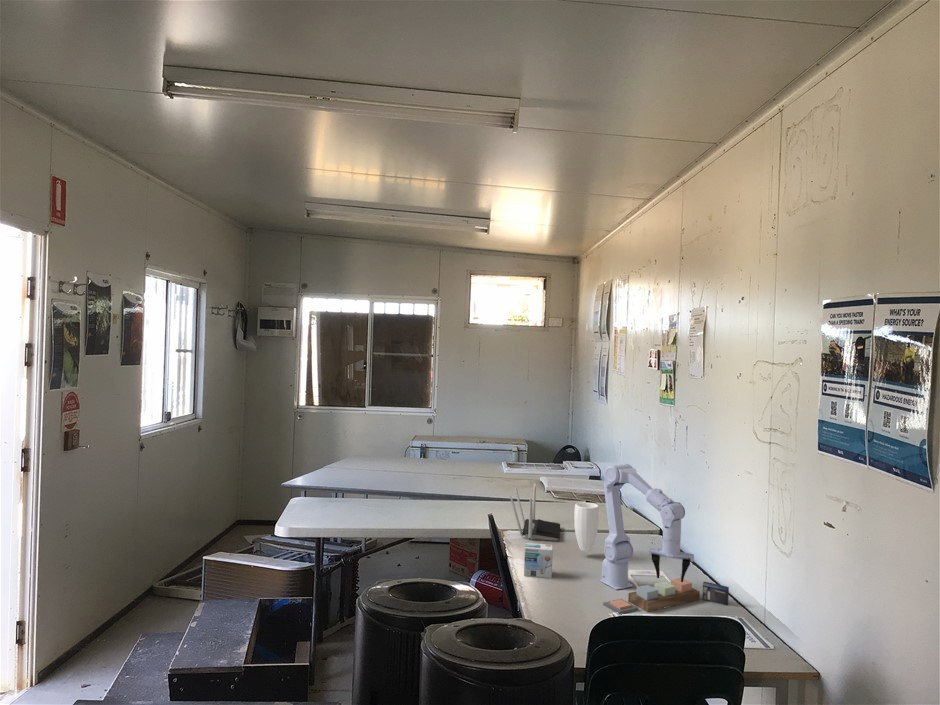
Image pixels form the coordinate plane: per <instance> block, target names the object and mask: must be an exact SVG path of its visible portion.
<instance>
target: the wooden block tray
mask: <svg viewBox="0 0 940 705" xmlns="http://www.w3.org/2000/svg"><path fill="white" fill-rule="evenodd" d="M636 593H637V590H636V591H632V592H628V601H627V602H628V603H630V604H632V605H634V606H636V607H638V609H641V610H643V611H645V612H647V613H649V612H653V610H654V611H657V610H656V609H658V608H662V609H665V608H664V607H667V608H669V607H668V606H671V607H674V606H673V605H675V606H679V605H678V604H680V605H683V603H684V604H687V602H688V603H691V602H697V601H700V599H701V598H700V596H701V595H700V594H701V592H700V590H697V589H696V588H694V587H692V590H691V591H687V592H682V593H681V592H679V591H677V590H675V594H673V595H669V596H663V595H661V594H659V593H658V598H655V599H651V600H645V599H643V598H642V597H640V596H638V595H636ZM658 610H659V609H658Z"/></svg>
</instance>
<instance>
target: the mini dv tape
mask: <svg viewBox="0 0 940 705" xmlns="http://www.w3.org/2000/svg"><path fill="white" fill-rule="evenodd" d="M729 588H730V587H729V586H726V585H721V584H717V583H713V582H710V581H703V582H702V596H701V597H702V600H703V601H706V602H711V603H715V604H719V605H723V606H728V605H729V595H730V594H729V592H730V589H729Z"/></svg>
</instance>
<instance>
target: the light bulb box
mask: <svg viewBox="0 0 940 705" xmlns="http://www.w3.org/2000/svg"><path fill="white" fill-rule="evenodd" d="M553 551H554V547H553V544H546V543H545V544H544V543H533V542H525V547H524V559H523V560H524V561H523V562H524V563H523V565H524V566H523V569H524V570H523V576H524V577H533V576H535V577H536V578H543V577H544V579H545V578H546V579H552V574H553V558H554V556H553V555H554V552H553ZM535 577H534V578H535Z"/></svg>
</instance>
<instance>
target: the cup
mask: <svg viewBox="0 0 940 705" xmlns="http://www.w3.org/2000/svg"><path fill="white" fill-rule="evenodd" d="M599 507H600V506H599V505H598V504H596V503H594V502H587V501H586V502H585V501H584V502H583V501H582V502H580V501H579V502H576V503H575V504H574V513H573V515H574V516H573V518H574V520H573V521H574V522H573V523H574V532H575V533H574V534H575V538H576V541H577V545H578V547H579V550H580V551H582V552H591V551H592V548H594V544H595V542H596V539H597V535H598V531H599V521H600V520H599V519H600V518H599V517H600V516H599V515H600V514H599V512H600V508H599Z"/></svg>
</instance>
